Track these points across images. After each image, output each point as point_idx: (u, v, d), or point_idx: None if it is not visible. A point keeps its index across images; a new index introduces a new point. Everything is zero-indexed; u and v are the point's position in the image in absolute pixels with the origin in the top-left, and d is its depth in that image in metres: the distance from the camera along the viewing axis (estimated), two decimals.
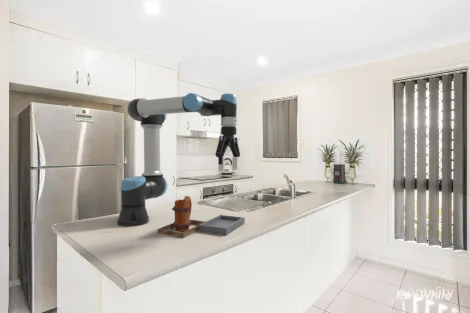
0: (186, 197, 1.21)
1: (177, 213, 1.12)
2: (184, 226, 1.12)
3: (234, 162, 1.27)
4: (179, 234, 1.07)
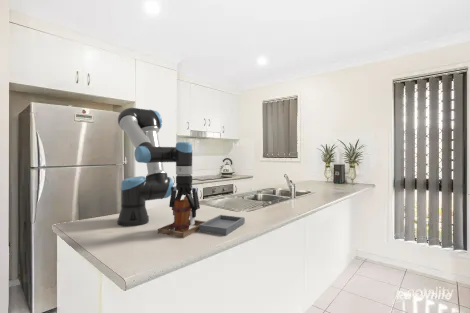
0: (186, 197, 1.21)
1: (177, 213, 1.12)
2: (184, 226, 1.12)
3: None
4: (179, 234, 1.07)
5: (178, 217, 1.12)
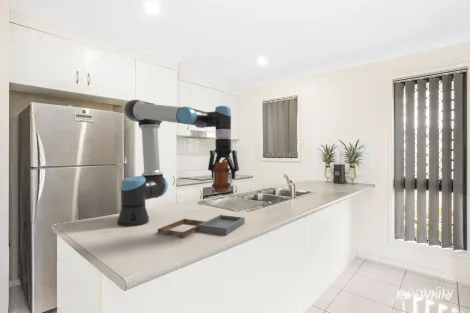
0: (224, 161, 1.25)
1: (218, 173, 1.16)
2: (224, 186, 1.16)
3: None
4: (179, 234, 1.07)
5: (219, 177, 1.16)
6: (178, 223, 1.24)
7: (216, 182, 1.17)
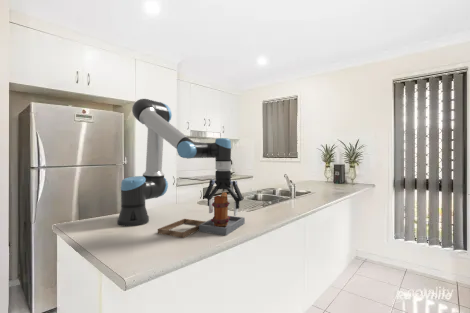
0: (223, 193, 1.25)
1: (217, 208, 1.16)
2: (224, 221, 1.16)
3: None
4: (179, 234, 1.07)
5: (218, 212, 1.16)
6: (178, 223, 1.24)
7: (216, 217, 1.17)
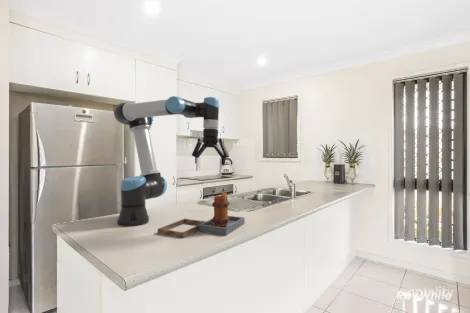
0: (223, 193, 1.25)
1: (217, 208, 1.16)
2: (224, 221, 1.16)
3: None
4: (179, 234, 1.07)
5: (218, 212, 1.16)
6: (178, 223, 1.24)
7: (216, 217, 1.17)
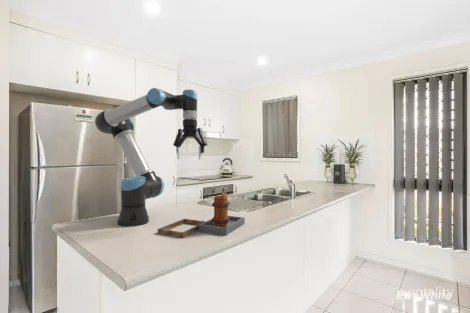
0: (223, 193, 1.25)
1: (217, 208, 1.16)
2: (224, 221, 1.16)
3: None
4: (179, 234, 1.07)
5: (218, 212, 1.16)
6: (178, 223, 1.24)
7: (216, 217, 1.17)
